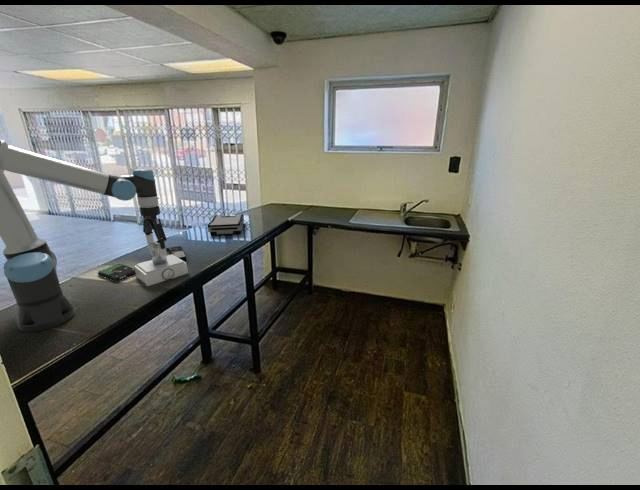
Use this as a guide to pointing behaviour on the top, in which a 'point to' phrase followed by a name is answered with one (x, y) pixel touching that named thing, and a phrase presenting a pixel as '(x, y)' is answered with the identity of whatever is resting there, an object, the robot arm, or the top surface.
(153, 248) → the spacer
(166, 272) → the scale
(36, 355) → the top surface
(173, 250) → the multimeter
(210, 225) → the game console
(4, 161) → the robot arm
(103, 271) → the disk drive
